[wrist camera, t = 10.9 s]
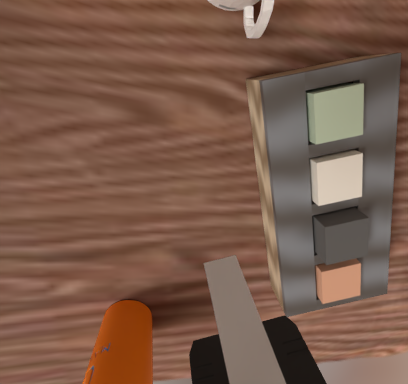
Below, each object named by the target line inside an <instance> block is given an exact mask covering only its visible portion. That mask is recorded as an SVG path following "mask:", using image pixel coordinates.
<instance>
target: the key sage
mask: <svg viewBox="0 0 408 384" xmlns="http://www.w3.org/2000/svg"><path fill="white" fill-rule="evenodd" d="M306 110H307V129H308V141H310V142H312V143H314V144H321V143H326V142H331V141H335V140H340V139H345V138H349V137H354V136H359V135H363V110H364V84H363V83H340V84H335V85H330V86H325V87H320V88H315V89H311V90H306Z"/></svg>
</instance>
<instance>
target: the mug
mask: <svg viewBox="0 0 408 384" xmlns="http://www.w3.org/2000/svg"><path fill="white" fill-rule="evenodd" d="M208 1H209V2H210V3H211V4H213V5H214V6H216V7H218V8H221V9H224V10H229V11H238V10H243V9H244V28H245V31H246V36H247V38H260V37H261V35H262V34H263V32H264V30H265V29H266V27H267V24H268V22H269V19H270V16H271V13H272V10H273V4H274V0H262V4H261V10H260V13H259V16H258V19H257V22H256V24H254V19H253V5H254V4H256V3H257V2H259V1H260V0H208Z"/></svg>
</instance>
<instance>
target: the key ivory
mask: <svg viewBox="0 0 408 384" xmlns="http://www.w3.org/2000/svg"><path fill="white" fill-rule="evenodd" d="M309 167H310V186H311V200H312V201H313V202H314V203H316V204H317V205H318V206H321V205H326V204H330V203H335V202H339V201H344V200H349V199H353V198H358V197H362V169H363V153H361V152H358V151H356V150H353V149H350V150H345V151H340V152H336V153H331V154H326V155H322V156H317V157H312V158H309Z"/></svg>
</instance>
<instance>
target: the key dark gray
mask: <svg viewBox="0 0 408 384" xmlns="http://www.w3.org/2000/svg"><path fill="white" fill-rule="evenodd" d="M312 224H313V243H314V251H315V252H316V253H317V255H318V256H319V257H320V258H321V259H322V261H323V262H324V263H325V264H326V265H330V264H334V263H338V262H343V261H347V260H351V259H356V258H360V257H365V256H368V238H369V217H367V216H366V215H365V214H363V213H362V212H360V211H359V210H358V209H356V208H355V207H349V208H345V209H340V210H336V211H331V212H326V213H322V214H317V215H313V216H312Z"/></svg>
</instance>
